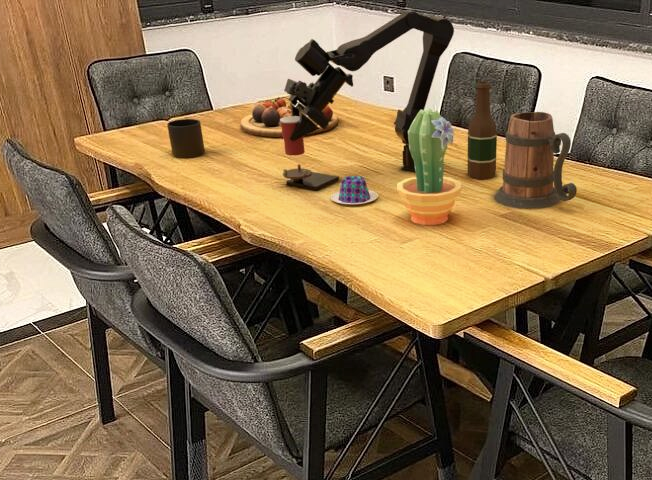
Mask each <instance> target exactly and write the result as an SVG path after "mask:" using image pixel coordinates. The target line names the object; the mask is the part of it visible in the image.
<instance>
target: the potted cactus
mask: <svg viewBox="0 0 652 480" xmlns="http://www.w3.org/2000/svg"><path fill="white" fill-rule="evenodd" d="M454 131H455V130H454V128H453V125H452V123H451V122H450V121H449V120H447V119H446V118H444V117H443V116H442V115H441V114H440V113H439V111H438V110H437V109H434V110H432V108H428V109H426V110H425V109H424V110H420V111H419V112H418V114H417V116H416V117H415V119H414V121H413V122H412V124H411V126H410V128H409V130H408V139H409V150H410V152H411V155H412V157H413V160H414V165H415V172H414V173H415V176H414V177H409V178H405V179H403V180H401V181H400V182H398V183H396V190H397V194H398V196H399V197H401V199H402V203H403V205H404V207H405V209H406V210H407V212H408V213H409V214H410V215H411V216H410V221H411V222H413V223H415V224H417V225H424V226H435V225H440V224H444V223H446V222H447V221H448V220H449V216H448V214H450V212H451V210H452V209H453V208H454V206H455V203H456V200H457V197H458V196H459V195H460V194H461V191H462V183H461V182H460V181H459V180H456V179H454V178H452V177H448V176H444V162H445V160H444V159H445V156H446V152H447V149H448V144H450V145H454V135H455V132H454Z"/></svg>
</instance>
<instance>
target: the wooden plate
mask: <svg viewBox="0 0 652 480" xmlns="http://www.w3.org/2000/svg"><path fill="white" fill-rule="evenodd" d="M290 104H292V103H291V102H290V103H289V104H288V105H287V102H286V100H285V99H284V98H282V97H280V96H278V97H277V98H274V101H273V100H266V101H265V102H264V103H258V104H256V105H255V106H254V108H253V109H252V112H251V114H249V115H246V116H244V117H243V118H242V119H241V120H240V123H239V126H240V128H241V129H242V131H244V132H245V133H248V134H252V135H256V136H262V137H269V138H271V137H274V138H283V137H282V128H281V122H280V119H281V118H283V117H288V116H291V107H290ZM292 105H293V104H292ZM323 113H324V116H326V117H327V118H328V120H329V125H328V126H327V127H326V129H325V130H324V129H322V128H321V127H320V126H319V125H318V127H319V128H320V129H319V130H315V131H313V132H311V133H309V134H307V135H306V136H308V135H314V134H319V133H322V132H326V131H328V130H331V129H332V128H334V127H336V126H337V125H338V123H339V116H338V115H337V114H336V113H334V111H333V109H332V108H331V107H330V106H329V105H327V107H326V108H325V109H324V111H323Z"/></svg>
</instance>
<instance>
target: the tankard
mask: <svg viewBox="0 0 652 480" xmlns="http://www.w3.org/2000/svg"><path fill="white" fill-rule="evenodd" d="M507 127H508V128H507V130H506V132H505V155H504V165H503V166H504V167H503V168H504V169H503V170H502V177H501V178H502V185H501V186H500V187H499V188H498V191H497V192H496V193H495V194H494V195H493V200H495V202H497V204H501V205H502V206H506V207H509V208H514V209H525V210H526V209H527V210H528V209H529V210H530V209H531V210H534V209H543V208H549V207H552V206H555V205H557V204H559V203H560V202H561V201H562V202H569V201H571V200H573V199H574V198H575V197H576V195H577V192H578V190H577V186H576V185H575V183H573V182H569V183H566V184H563V177H562V176H563V166H564V163H565V160H566V158H567V156H568V154H569V153H570V150H571V144H572V142H571V141H572V140H571V137H570V136H569V134H567V133H566V132H561V133H557V134H556V132H555V127H554V119H553V115H551V113H548V112H544V111H532V112H531V111H530V112H529V111H528V112H527V111H526V112H524V111H522V112H516V113H513V114H511V115H510V118H509V122H508V126H507ZM556 154H557V155H558V154H559V155H558V156H557V158H556V161H555V156H554V155H556ZM554 161H555V162H554Z"/></svg>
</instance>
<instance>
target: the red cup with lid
mask: <svg viewBox="0 0 652 480" xmlns="http://www.w3.org/2000/svg"><path fill="white" fill-rule="evenodd" d="M299 120H300V117H299V116H288V117H283V118H281V119H280V122H281V128H282V137H281V138H282V139H283V144H284V152H285V155H286V156H301V155H304V154H305V152H306V151H305V142H304V138H305V136H303V137H301V138H299V139H297V140H295V141H291V140H290V137H291V135H292V133H293V131H294V129H295V128H296V126H297V124H298V122H299Z"/></svg>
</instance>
